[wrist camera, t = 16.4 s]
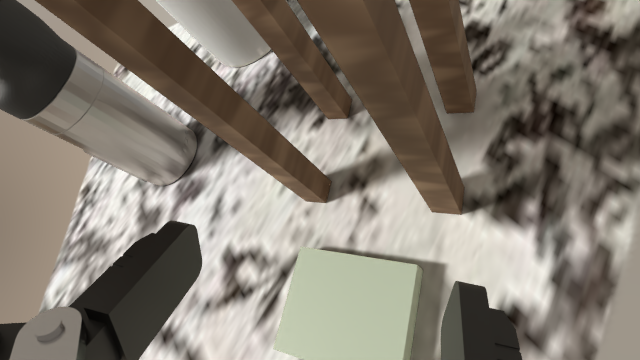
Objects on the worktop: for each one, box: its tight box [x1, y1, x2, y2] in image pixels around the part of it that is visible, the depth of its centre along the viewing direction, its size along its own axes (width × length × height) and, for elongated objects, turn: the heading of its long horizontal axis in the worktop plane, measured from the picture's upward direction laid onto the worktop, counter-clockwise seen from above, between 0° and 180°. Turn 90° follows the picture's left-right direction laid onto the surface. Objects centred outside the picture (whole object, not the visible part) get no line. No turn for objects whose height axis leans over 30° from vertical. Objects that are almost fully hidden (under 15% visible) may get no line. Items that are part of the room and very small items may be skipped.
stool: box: [35, 0, 476, 215], centre depth 24 cm, size 16×13×32 cm
